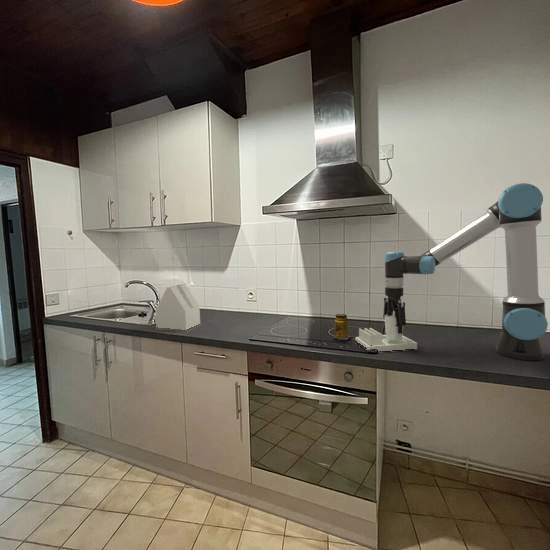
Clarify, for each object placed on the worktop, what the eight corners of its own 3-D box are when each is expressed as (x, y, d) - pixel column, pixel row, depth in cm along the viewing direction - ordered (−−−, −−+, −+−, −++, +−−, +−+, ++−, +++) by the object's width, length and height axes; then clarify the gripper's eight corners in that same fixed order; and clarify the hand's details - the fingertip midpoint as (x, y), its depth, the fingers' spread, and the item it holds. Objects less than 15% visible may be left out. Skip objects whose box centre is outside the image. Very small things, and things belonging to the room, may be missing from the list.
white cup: (405, 341, 133) (405, 318, 132) (386, 340, 134) (386, 318, 133) (401, 335, 140) (401, 314, 140) (383, 335, 142) (383, 314, 141)
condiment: (331, 339, 149) (331, 315, 148) (340, 335, 156) (340, 312, 154) (345, 342, 144) (345, 317, 143) (353, 337, 151) (353, 313, 150)
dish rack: (417, 349, 132) (417, 332, 131) (368, 353, 129) (368, 336, 128) (399, 339, 146) (399, 324, 145) (355, 343, 143) (355, 327, 142)
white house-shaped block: (156, 330, 176) (153, 287, 173) (172, 323, 191) (169, 283, 188) (186, 332, 171) (183, 287, 168) (200, 324, 185) (198, 283, 183)
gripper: (375, 284, 145) (375, 332, 147) (398, 290, 125) (398, 345, 127) (390, 283, 146) (390, 330, 148) (415, 289, 126) (415, 344, 128)
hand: (393, 337), depth 137 cm, fingers closed on white cup, 7 cm apart
